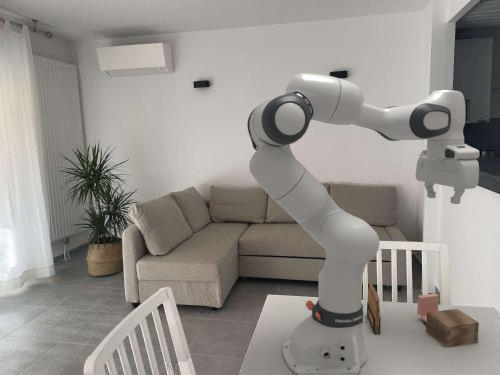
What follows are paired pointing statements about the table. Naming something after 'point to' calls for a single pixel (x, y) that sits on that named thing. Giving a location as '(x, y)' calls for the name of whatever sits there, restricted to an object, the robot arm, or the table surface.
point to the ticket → (427, 305)
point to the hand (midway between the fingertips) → (442, 200)
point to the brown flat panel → (373, 310)
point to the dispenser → (452, 327)
